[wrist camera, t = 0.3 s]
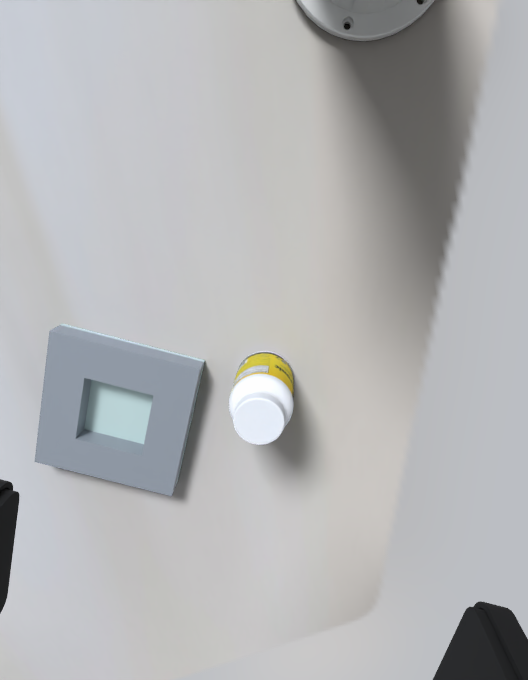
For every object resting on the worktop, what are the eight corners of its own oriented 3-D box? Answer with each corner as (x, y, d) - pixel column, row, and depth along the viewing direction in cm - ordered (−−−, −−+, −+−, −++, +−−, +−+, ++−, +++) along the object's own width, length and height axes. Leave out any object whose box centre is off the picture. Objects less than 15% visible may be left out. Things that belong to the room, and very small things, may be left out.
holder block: (62, 323, 45) (49, 330, 43) (204, 360, 45) (200, 369, 43) (47, 448, 49) (34, 461, 47) (177, 481, 50) (171, 496, 47)
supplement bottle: (300, 394, 46) (301, 446, 37) (246, 406, 47) (234, 460, 37) (285, 342, 44) (283, 383, 35) (230, 356, 45) (213, 398, 36)
